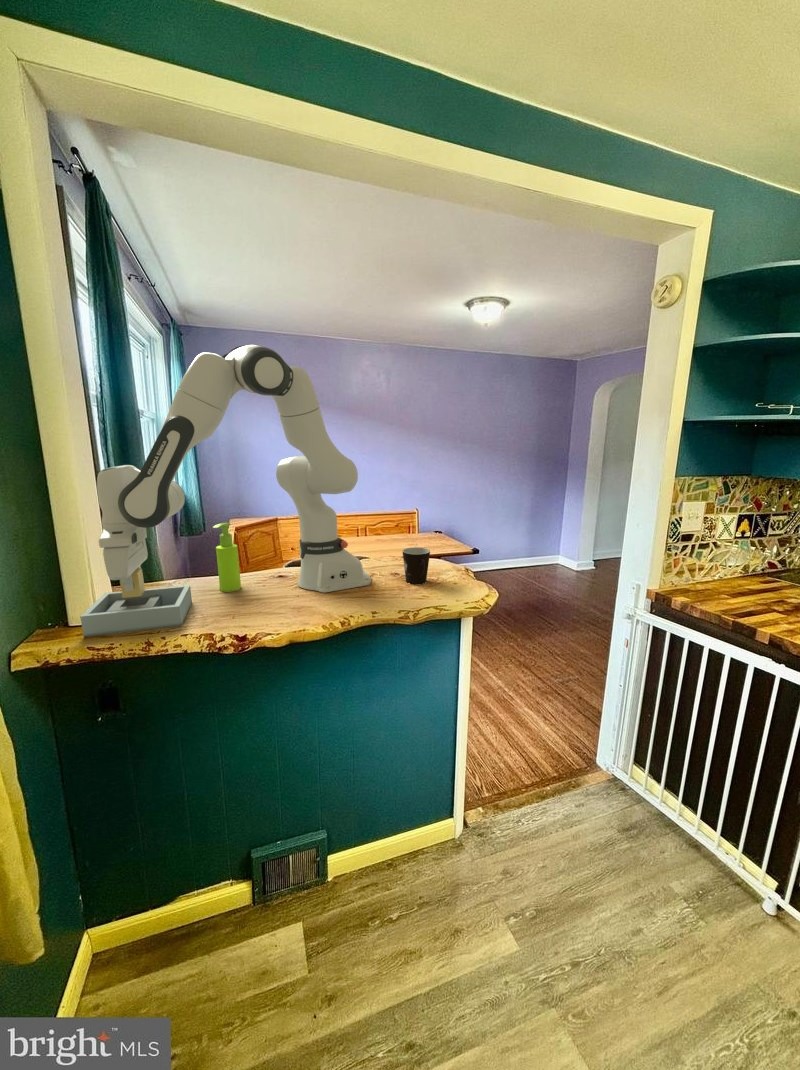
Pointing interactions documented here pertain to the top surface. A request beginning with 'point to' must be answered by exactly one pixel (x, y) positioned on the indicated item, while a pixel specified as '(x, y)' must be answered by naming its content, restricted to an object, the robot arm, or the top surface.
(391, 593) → the top surface
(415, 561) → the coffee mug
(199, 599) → the top surface
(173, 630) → the top surface
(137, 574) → the connector
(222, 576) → the soap dispenser
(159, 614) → the caddy
